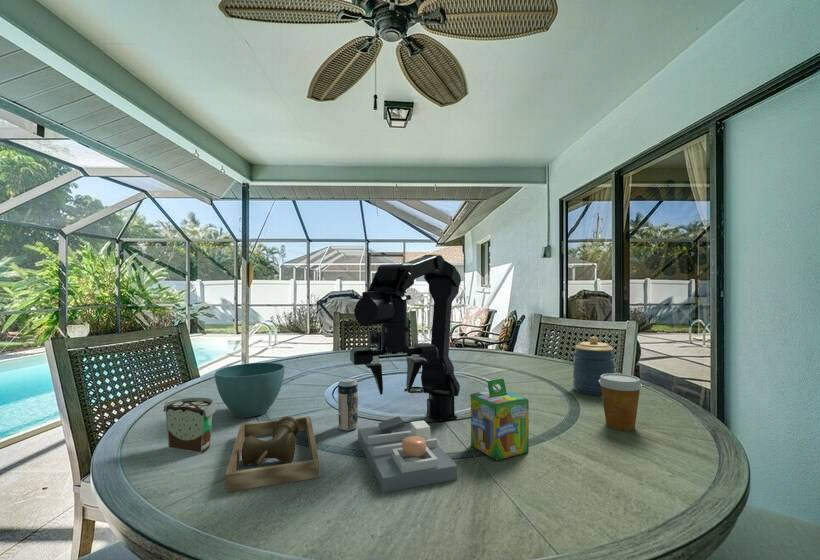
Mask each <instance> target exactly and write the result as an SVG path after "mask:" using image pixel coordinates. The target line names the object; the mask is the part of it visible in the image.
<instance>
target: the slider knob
mask: <svg viewBox="0 0 820 560" xmlns="http://www.w3.org/2000/svg"><path fill="white" fill-rule="evenodd" d="M410 427H411V436H419V437H423V438H424V439H425V440H426V439H430V437H431V426H430V425H429V424H428V423H427V421H425V420H417V421H411V422H410Z"/></svg>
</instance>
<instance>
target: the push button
mask: <svg viewBox="0 0 820 560" xmlns="http://www.w3.org/2000/svg"><path fill="white" fill-rule="evenodd" d="M402 452H403V454H405V455H407V456H421V455H423V454H425V453H426V440H425V439H424V438H423V437H419V436H409V437H406V438H404V439H403V440H402Z"/></svg>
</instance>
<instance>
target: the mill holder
mask: <svg viewBox="0 0 820 560" xmlns="http://www.w3.org/2000/svg"><path fill="white" fill-rule="evenodd" d="M293 418H294V419H296V421H297V422H298V426H299V428H298V432H302V430H304V431H306V430H307V431H306V434H307V435H306V436H307V442H308V448H309V456H310V459H309V460H304V461H296V462H292V463H288V464H285V463H281V464H274V465H269V466H261V467H260V466H259V467H256V468H254V467H253V468H248V469H240V470H238V469H239V468H238V467H239V464H240V460H241V457H242V446H243V443H244V440H245V439H246V438H247V437H248V436H250V435H251V436H254V437H262V436H268V435H269V436H270V435H271V436H272V432H273V429H274V427H275V426H277V423H278V422H279V420H280V419H274V420H273V419H272V420H264V421H256V422H255V421H254V422H249V423H248V422H247V423H240V425H239V428H238V432H237V435H236V438H235V442H234V444H233V445H234V446H233V448H232V452H231V455H230V458H229V459H230V460H229V462H228V465H227V469H226V472H225V493H229V492H235V491H242V490H243V491H244V490H248V489H255V488H260V487H261V488H262V487H267V486H273V485H280V484H281V485H282V484H286V483H294V482H298V481H306V480H311V479H317V478H320V458H319V457H320V456H319V454H318V450H317V449H318V448H317V443H316V438H315V437H316V436H315V433H314V428H313V423H312V419H311V416H310V415H309V416H301V417H300V416H299V417H293Z"/></svg>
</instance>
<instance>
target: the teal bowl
mask: <svg viewBox="0 0 820 560" xmlns="http://www.w3.org/2000/svg"><path fill="white" fill-rule="evenodd" d="M285 368H286V366H285V365H284V364H282V363H277V362H251V363H250V362H249V363H240V364H234V365H230V366H224V367H222V368H219V369H217V370H215V371H214V381H215V384H216V388H217V392H218V394H219V397H220V398H221V400H222V402H223V403H224V405H225V406H226V407H227V408H228V409H229V411H230V412H231V413H233V415H235V416H236V417H238V418H239V417H240V418H252V417H257V416H261V415H264V414H266V412H267V411H269V409H270V408H271V407H272V406H273V404H274V402H275V401H276V400H277V398H278V395H279V393H280V391H281V389H282V385H283V382H284V377H285Z"/></svg>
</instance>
